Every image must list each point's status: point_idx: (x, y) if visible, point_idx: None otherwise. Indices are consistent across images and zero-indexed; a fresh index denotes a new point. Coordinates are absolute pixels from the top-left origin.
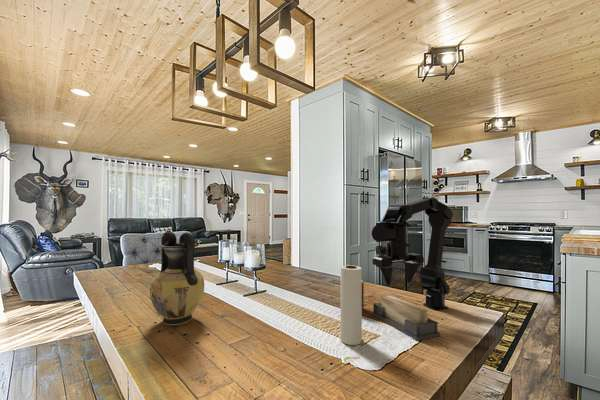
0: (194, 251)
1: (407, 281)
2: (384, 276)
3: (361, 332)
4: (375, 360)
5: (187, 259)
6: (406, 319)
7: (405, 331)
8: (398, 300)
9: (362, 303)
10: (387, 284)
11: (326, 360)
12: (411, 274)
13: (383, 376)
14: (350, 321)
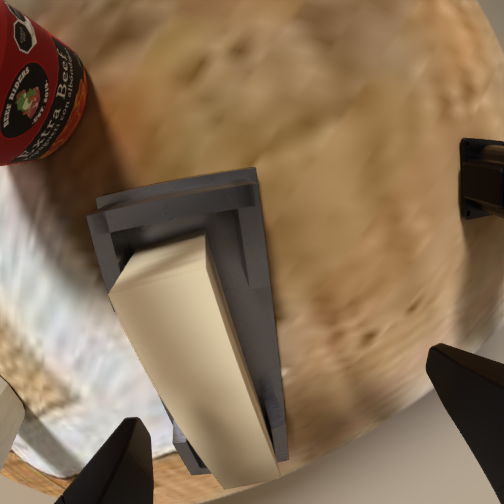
0: None
1: (434, 351)
2: (73, 496)
3: (17, 430)
4: (56, 464)
5: None
6: (182, 442)
7: (171, 420)
8: (213, 385)
9: (47, 142)
10: (126, 429)
11: None
12: (473, 444)
13: (67, 487)
14: None
